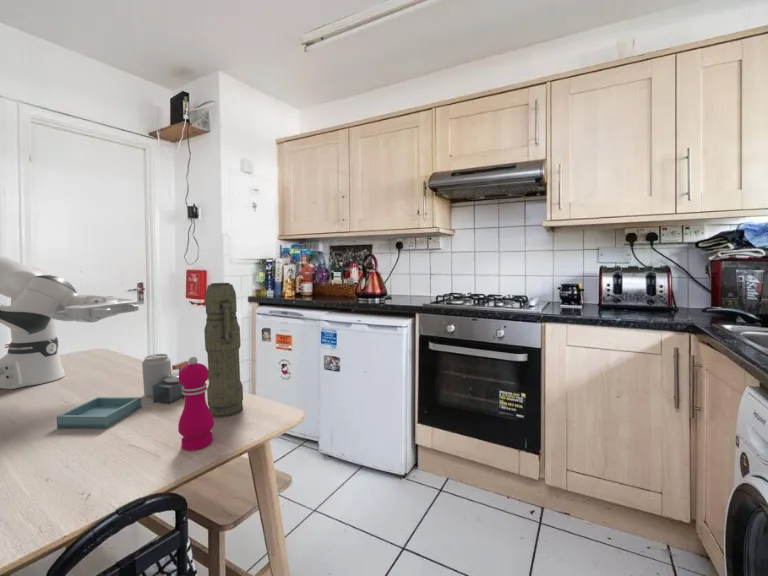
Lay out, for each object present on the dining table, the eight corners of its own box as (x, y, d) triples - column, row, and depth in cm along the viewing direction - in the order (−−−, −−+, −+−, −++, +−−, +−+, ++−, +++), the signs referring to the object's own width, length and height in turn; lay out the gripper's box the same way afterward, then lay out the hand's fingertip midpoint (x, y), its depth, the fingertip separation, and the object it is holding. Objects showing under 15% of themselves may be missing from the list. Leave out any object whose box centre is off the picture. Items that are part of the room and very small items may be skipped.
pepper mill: (191, 455, 79) (186, 363, 77) (172, 446, 82) (167, 358, 81) (221, 441, 85) (217, 355, 83) (203, 433, 88) (198, 351, 87)
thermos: (233, 400, 109) (228, 281, 106) (251, 412, 100) (245, 283, 97) (201, 409, 103) (194, 283, 100) (217, 422, 94) (210, 285, 91)
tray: (57, 428, 92) (56, 416, 92) (98, 407, 104) (97, 397, 104) (106, 428, 91) (105, 416, 91) (141, 407, 104) (141, 397, 104)
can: (159, 399, 110) (156, 359, 109) (138, 397, 112) (135, 358, 111) (178, 390, 117) (175, 353, 116) (157, 388, 119) (155, 352, 118)
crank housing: (152, 402, 108) (149, 368, 107) (184, 388, 119) (182, 357, 118) (171, 404, 106) (169, 369, 105) (202, 389, 117) (200, 358, 117)
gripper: (52, 302, 109) (88, 303, 105) (118, 295, 129) (150, 296, 125) (53, 323, 109) (89, 325, 106) (119, 313, 129) (151, 315, 126)
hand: (123, 310), depth 116 cm, fingers open, 8 cm apart
